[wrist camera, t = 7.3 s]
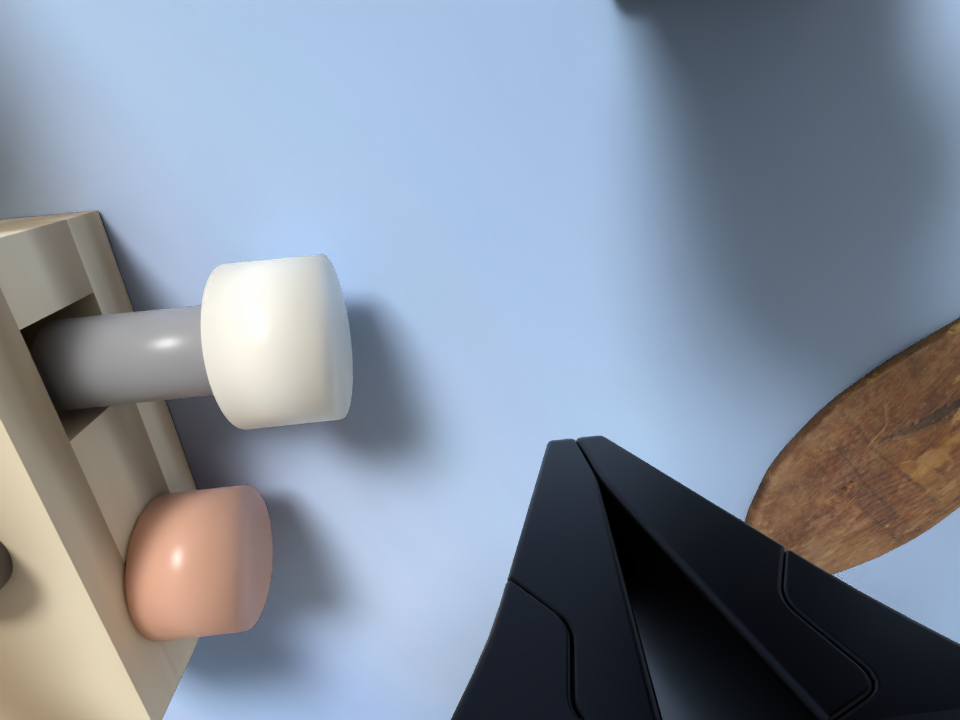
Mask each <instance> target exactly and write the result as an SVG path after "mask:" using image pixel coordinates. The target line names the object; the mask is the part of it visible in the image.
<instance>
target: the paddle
mask: <svg viewBox="0 0 960 720" xmlns="http://www.w3.org/2000/svg"><path fill="white" fill-rule="evenodd" d="M959 507H960V318H958V319H957V320H955V321H954V322H952V323H950V324H949V325H947V326H945V327H943V328H941V329H940V330H938V331H936V332H935V333H933V334H931V335H930V336H928V337H926V338H925V339H923V340H921V341H920V342H918V343H916V344H915V345H913V346H911V347H909V348H907V349H906V350H904V351H902V352H901V353H899V354H897V355H896V356H894V357H892V358H891V359H889V360H888V361H886V362H885V363H883V364H882V365H880V366H879V367H877V368H876V369H874V370H873V371H871V372H870V373H869V374H867V375H866V376H864V377H863V378H862V379H860V380H859V381H857V382H856V383H854V384H853V385H852V386H850V387H849V388H847V389H846V390H845V391H843V392H842V393H841V394H839V395H838V396H837V397H835V398H834V399H833V400H832V401H831V402H830V403H828V404H827V405H826V406H825V407H824V408H823V409H821V410H820V411H819V412H818V413H817V414H816V415H815V416H814V417H813V418H812V419H811V420H810V421H809V422H808V423H807V424H806V425H805V426H804V427H803V428H802V429H801V430H800V431H799V432H798V433H797V434H796V435H795V437H794V438H793V439H792V440H791V441H790V442H789V443H788V444H787V445H786V446H785V447H784V449H783V450H782V451H781V452H780V454H779V455H778V456H777V457H776V459H775V460H774V461H773V463H772V464H771V465H770V467H769V468H768V470H767V472H766V474H765V476H764V478H763V480H762V482H761V484H760V486H759V488H758V490H757V492H756V494H755V496H754V499H753V501H752V503H751V505H750V507H749V510H748V513H747V516H746V519H745V523H746V524H748V525H750V526H751V527H753V528H755V529H756V530H758V531H759V532H761V533H763V534H764V535H766V536H768V537H769V538H771V539H773V540H774V541H776V542H778V543H779V544H781V545H782V546H784V548H785V552H786V551H787V550H791V551H793V552H794V553H796V554H798V555H799V556H801V557H803V558H804V559H806V560H807V561H809V562H811V563H812V564H814V565H816V566H817V567H819V568H821V569H822V570H824V571H826V572H828V573H829V574H831V575H832V574H835V573H838V572H841V571H844V570H847V569H849V568H852V567H854V566H857V565H859V564H862V563H865V562H867V561H870V560H872V559H874V558H877V557H879V556H881V555H883V554H885V553H887V552H889V551H891V550H893V549H895V548H897V547H899V546H901V545H903V544H905V543H907V542H909V541H910V540H912V539H914V538H916V537H917V536H919V535H921V534H922V533H924V532H925V531H927V530H929V529H930V528H932V527H933V526H935V525H936V524H937V523H939V522H940V521H942V520H943V519H944V518H946V517H947V516H948V515H949V514H951V513H952V512H953V511H955V510H956V509H957V508H959Z"/></svg>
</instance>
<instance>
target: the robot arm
mask: <svg viewBox="0 0 960 720" xmlns="http://www.w3.org/2000/svg"><path fill="white" fill-rule="evenodd" d="M451 720H960V644H958V643H956V642H954V641H953V640H951V639H949V638H947V637H945V636H943V635H941V634H939V633H937V632H935V631H933V630H931V629H929V628H927V627H926V626H924V625H922V624H920V623H918V622H916V621H914V620H912V619H910V618H908V617H907V616H905V615H903V614H901V613H899V612H897V611H895V610H894V609H892V608H890V607H888V606H886V605H884V604H882V603H881V602H879V601H877V600H875V599H873V598H871V597H869V596H868V595H866V594H864V593H862V592H860V591H858V590H857V589H855V588H853V587H852V586H850V585H848V584H846V583H845V582H843V581H841V580H840V579H838V578H836V577H834V576H833V575H831V574H829V573H828V572H826V571H824V570H822V569H821V568H819V567H817V566H816V565H814V564H812V563H811V562H809V561H807V560H806V559H804V558H803V557H801V556H799V555H798V554H796V553H794V552H793V551H791V550H787V551H786V552H785V548H784V546H782V545H781V544H779V543H778V542H776V541H774V540H773V539H771V538H769V537H768V536H766V535H764V534H763V533H761V532H759V531H758V530H756V529H755V528H753V527H751V526H750V525H748V524H746V523H745V522H743V521H741V520H740V519H738V518H737V517H735V516H733V515H732V514H730V513H728V512H727V511H725V510H723V509H722V508H720V507H719V506H717V505H715V504H714V503H712V502H710V501H709V500H707V499H705V498H704V497H702V496H700V495H699V494H697V493H696V492H694V491H692V490H691V489H689V488H687V487H686V486H684V485H682V484H681V483H679V482H678V481H676V480H674V479H673V478H671V477H669V476H668V475H666V474H664V473H663V472H661V471H659V470H658V469H656V468H655V467H653V466H651V465H650V464H648V463H646V462H645V461H643V460H641V459H640V458H638V457H637V456H635V455H633V454H632V453H630V452H628V451H627V450H625V449H623V448H622V447H620V446H618V445H617V444H615V443H614V442H612V441H610V440H609V439H607V438H605V437H603V436H591V437H582V438H578V439H577V440H576V441H575V440H574V439H563V440H553V441H550V442H549V443H548V444H547V447H546V451H545V454H544V457H543V461H542V464H541V468H540V471H539V474H538V478H537V481H536V485H535V488H534V491H533V495H532V498H531V502H530V505H529V508H528V512H527V515H526V519H525V522H524V525H523V529H522V532H521V536H520V539H519V542H518V546H517V549H516V553H515V556H514V559H513V563H512V566H511V570H510V573H509V576H508V582H507V583H506V585H505V589H504V592H503V596H502V599H501V602H500V606H499V608H498V611H497V614H496V617H495V620H494V623H493V626H492V629H491V632H490V635H489V637H488V640H487V642H486V644H485V647H484V649H483V651H482V654H481V656H480V658H479V661H478V663H477V665H476V668H475V670H474V672H473V675H472V677H471V679H470V681H469V683H468V685H467V687H466V689H465V691H464V693H463V695H462V698H461V700H460V702H459V704H458V706H457V708H456V710H455V712H454V714H453V716H452V718H451Z"/></svg>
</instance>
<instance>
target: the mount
mask: <svg viewBox="0 0 960 720" xmlns="http://www.w3.org/2000/svg"><path fill="white" fill-rule="evenodd" d="M128 312H134V311H133V308H132V305H131V302H130V299H129V297H128V294H127V291H126V288H125V285H124V282H123V280H122V277H121V274H120V271H119V268H118V266H117V263H116V260H115V257H114V254H113V251H112V249H111V246H110V243H109V240H108V237H107V235H106V232H105V229H104V226H103V223H102V220H101V218H100V215H99V212H98V211H88V212H77V213H66V214H56V215H45V216H35V217H24V218H13V219H3V220H0V720H162V719H163V717H164V714H165V712H166V710H167V708H168V706H169V703H170V701H171V699H172V697H173V695H174V692H175V690H176V688H177V686H178V684H179V682H180V679H181V677H182V675H183V673H184V671H185V668H186V666H187V664H188V662H189V660H190V657H191V655H192V653H193V651H194V649H195V647H196V644H197V642H198V640H199V638H200V637H196V638H187V639H179V640H170V641H162V642H154V641H150V640H148V639H146V638H145V637H144V636H143V635H142V634H141V633H140V632H139V631H138V629H137V628H136V626H135V624H134V622H133V620H132V617H131V615H130V611H129V608H128V603H127V597H126V586H125V572H126V566H125V562H126V560H127V555H128V549H129V545H130V541H131V538H132V535H133V531H134V529H135V527H136V524H137V522H138V520H139V518H140V516H141V514H142V513H143V511H144V510H145V508H146V507H147V506H148V505H149V504H150V502H152V501H153V500H154V499H155V498H157V497H158V496H160V495H162V494H165V493H174V492H183V491H192V490H197V488H196V485H195V482H194V480H193V477H192V474H191V471H190V468H189V466H188V463H187V460H186V457H185V454H184V451H183V449H182V446H181V443H180V440H179V437H178V435H177V432H176V429H175V426H174V423H173V420H172V418H171V415H170V412H169V409H168V406H167V404H166V401H165V400H161V401H152V402H142V403H132V404H123V405H113V406H104V407H94V408H85V409H75V410H64V409H60V408H58V407H56V406H54V405H53V403H52V401H51V399H50V397H49V395H48V392H47V390H46V388H45V386H44V383H43V381H42V379H41V377H40V375H39V372H38V370H37V368H36V366H35V363H34V361H33V359H32V357H31V356H32V347H33V343H34V340H35V338H36V336H37V334H38V332H39V331H40V329H41V328H42V327H43V326H44V325H45V324H47V323H48V322H50V321H53V320H57V319H67V318H77V317H87V316H97V315H107V314H117V313H128Z"/></svg>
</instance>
